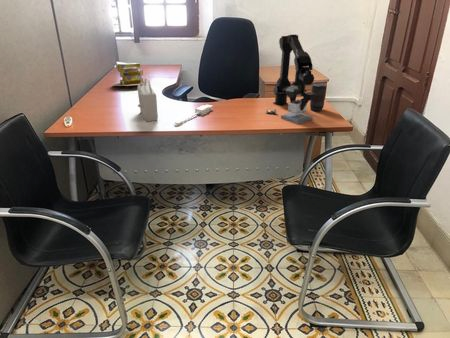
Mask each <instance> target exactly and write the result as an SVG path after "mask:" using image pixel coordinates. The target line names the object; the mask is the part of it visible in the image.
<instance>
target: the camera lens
mask: <svg viewBox="0 0 450 338" xmlns="http://www.w3.org/2000/svg"><path fill="white" fill-rule="evenodd" d="M310 90H311V91H310V92H312V93H315V94H316V99H314V100H310V101H309V102H310V103H309V105H310V106H309V108H310V110H311V111H313V112H322V111H323V108H324V106H325V99H326V93H327V84H326V83H325V82H324V83H323V82H313V83H312V84H311V89H310Z"/></svg>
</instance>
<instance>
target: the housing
mask: <svg viewBox="0 0 450 338" xmlns="http://www.w3.org/2000/svg"><path fill="white" fill-rule="evenodd" d="M301 104H302V101H301V99H300V98H299V99H296V100H295V101H289V102H288V104H287V105H288V107H287V111H288V113H291V112H292V113H295V114H298V113H304V112H307V108H308V107H307V106H308V103H307V104H306V106H305V107H304V109H303V110H302V111H301Z"/></svg>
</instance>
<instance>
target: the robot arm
mask: <svg viewBox="0 0 450 338" xmlns="http://www.w3.org/2000/svg"><path fill="white" fill-rule="evenodd" d="M278 40H279V41H278V43H279V49H280V50H281V62H280V72H279V73H280V74H279V78H278V79H277V81H276V85H275V86H274V88H273V94H274V95H275V97H274V99H275V100H274V102H272V103H273V104H274V105H277V106H280V107H281V106H284V105H285V106H286V105H289V102H291V101H295V100H297V96H301V97H302V98H300V100H301V101H302V104H301V111H302V110H303V109H304V107H305V106H306V104H307V105H308V103H309V102H310V101H311V100H314V99H316V94H315V93H312V92H311V91H310V92H309V91H308V92H307V89H306V86H309V85H313V84H314V81H315V76H314V74H313V73H312V71H313V67H314V66H313V62H312V58H311V56H310V55H309V53H308V52H307V51H305V50H304V48H303V47H302V44H301V41H300V39H299V35H298V34H288V35H282V36H281V37H280V38H279V39H278ZM292 52H293V54H294V59H293V62H294V66H295V76H294V81H292V83H291V82H290V80H289V71H290V70H289V69H290V61H291V54H292ZM291 84H292V85H291ZM288 98H289V100H290V101H289V102H287V101H288Z"/></svg>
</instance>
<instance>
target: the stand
mask: <svg viewBox="0 0 450 338" xmlns="http://www.w3.org/2000/svg"><path fill="white" fill-rule="evenodd" d="M280 119H282V120H285V121H287V122H290V123H293V124H297V125H299V124H302V123H306V122H308V121H312V120H313V116H312V115H308V114H306V113H304V112H301V113H298V114H295V113H292V112H287V113H284V114H281V115H280Z"/></svg>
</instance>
